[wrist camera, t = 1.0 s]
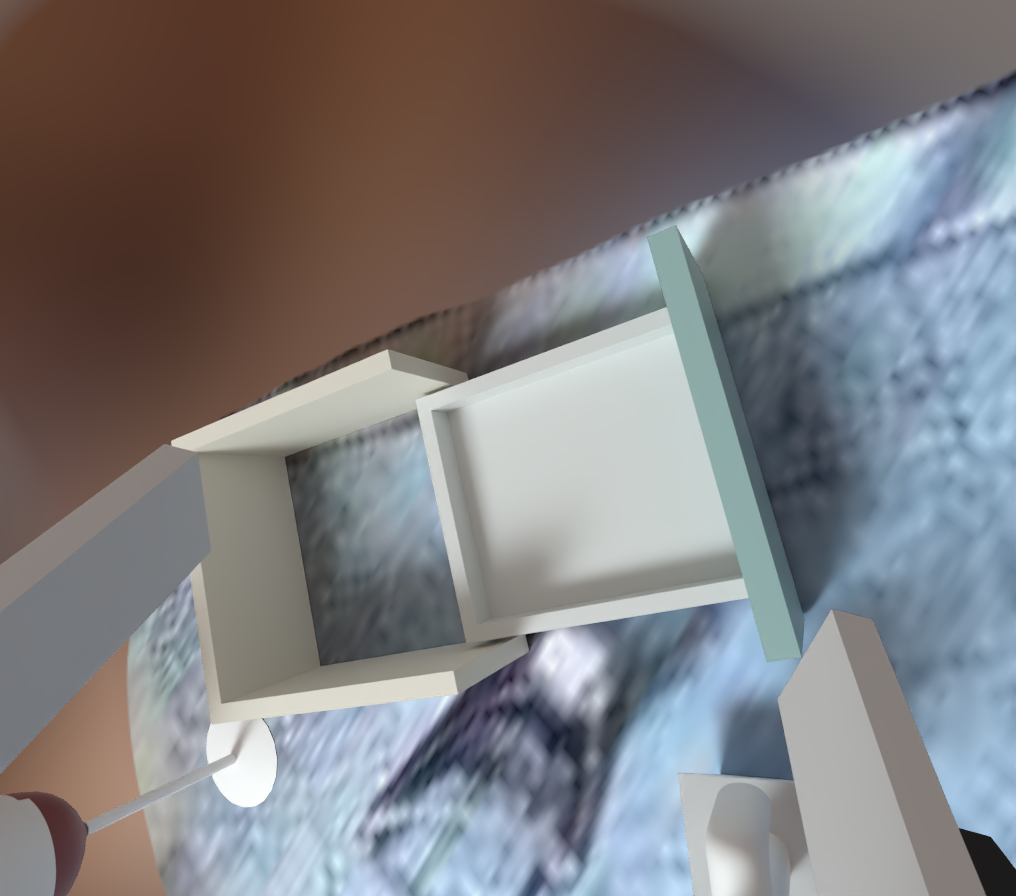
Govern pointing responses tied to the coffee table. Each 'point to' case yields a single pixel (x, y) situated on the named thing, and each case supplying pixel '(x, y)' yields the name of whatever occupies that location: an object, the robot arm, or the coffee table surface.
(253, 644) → the cubby
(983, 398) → the coffee table surface
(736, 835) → the figurine
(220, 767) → the wineglass
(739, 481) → the tray
